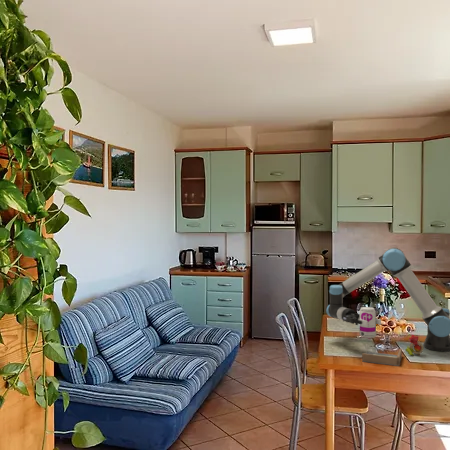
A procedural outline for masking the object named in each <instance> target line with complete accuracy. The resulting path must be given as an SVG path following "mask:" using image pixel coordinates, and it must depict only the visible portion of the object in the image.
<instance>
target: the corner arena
mask: <svg viewBox="0 0 450 450" xmlns="http://www.w3.org/2000/svg"><path fill="white" fill-rule="evenodd" d="M402 353H403V350H402V348H399V349H398V353H397V354H392V353H391V354H390V353H382V352H372V351H367V352H366V353H364V352H363V353H361V355H362V357H361V359H362V363H370V364H377V365H378V364H379V365H386V366H393V367H394V366H395V367H400V365H401V360H402V356H403V355H402Z"/></svg>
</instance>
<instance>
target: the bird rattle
mask: <svg viewBox="0 0 450 450" xmlns="http://www.w3.org/2000/svg"><path fill="white" fill-rule="evenodd" d="M419 338H420V337H419V336H418V335H414V334H411V337H408V340H409V343H410V344H409V345H407V347H406V349H405V352H406V353H407V354H408V355H409V356H413V357H414V355H418V356H420V355H421V353H422V352H423V350H424V348H425V347H424V343H422V342H421V341H419Z"/></svg>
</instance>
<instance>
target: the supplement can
mask: <svg viewBox="0 0 450 450" xmlns="http://www.w3.org/2000/svg"><path fill="white" fill-rule="evenodd" d="M376 313H377V312H376V310H375V308H374V307H372V306H371V307H370V306H363V307H362V306H361V307H360V309H359V314H360V319H362V320H365V321H368V326H363V325H360V324H359V335H360V336H361V337H362V338H370V339H371V338H375V337H376V336H377V333H376V332H377V331H376V317H377V316H376Z"/></svg>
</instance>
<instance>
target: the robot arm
mask: <svg viewBox="0 0 450 450" xmlns="http://www.w3.org/2000/svg"><path fill="white" fill-rule="evenodd" d="M384 272H390V274H391V275H392V277H394V278H395V277H396V278H397V279H398V281H399V282H400V283H401V284H402V286H403V287H404V289H405V290H406V292H407V293H408V295H409V296H410V297H411V300H413V302H414V303H415V305H416V306H417V308H418V309H419V310H420V312H421V313H422V319H423V321H424V322H425V325H426V326H427V329H426V330H427V332H426V333H427V334H426V336H425V340H424V342H423V347H424V348H426V349H427V350H431V351H436V352H450V309H449V308H445V307H442V306H439V305H437V304H436V303H435V301H434V300H433V298H432V297H431V296H430V294H429V293H428V291H427V289H426V288H425V287H424V286H423V284H422V283H421V281H420V280H419V278H418V277H417V276H416V275H415V273H414V272H413V270H412V264H411V263H410V261H409V260H408V259H407V257H406V255H405V253H404V251H403V250H402V249H400V248H397V247H391V248H388V249H387V250H385V252H384V253H383V254H382V255H380V256H379V257H377V260H376V261H374V262H372V263H371V264H369V265H368V266H366V267H365V268H363V269H361V270H360V271H358V272H356V273H355V274H354V275H352V276H350V277H349V278H347V279H345V280H344V281H343V282H341V283H339V284H331V285H330V286H329V290H328V292H329V304H328V305H327V307H326V309H325V311H326V314H327V316H329V317H330V318H333V319H336V320H341V321H342V322H346V323H349V324H352V325H354V324H355V326H358V325H359V326H360V325H363V326H368V321H365V320H362V319H360V313H356V311H355V310H354V309H351V308H347V307H345V306H344V305H343V301H344V299H343V298H344V297H345V296H346V295H349V294H350V293H351V292H353V291H355V290H357V289H358V288H360V287H361V286H363V285H365V284H366V283H368V282H370V281H371V280H373V279H374V278H376V277H377V276H379V275H380V274H381V275H382V274H383V273H384ZM377 318H378V317H377ZM377 318H376V324H378V326H379V325H382V319H381V318H379V319H377Z"/></svg>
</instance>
